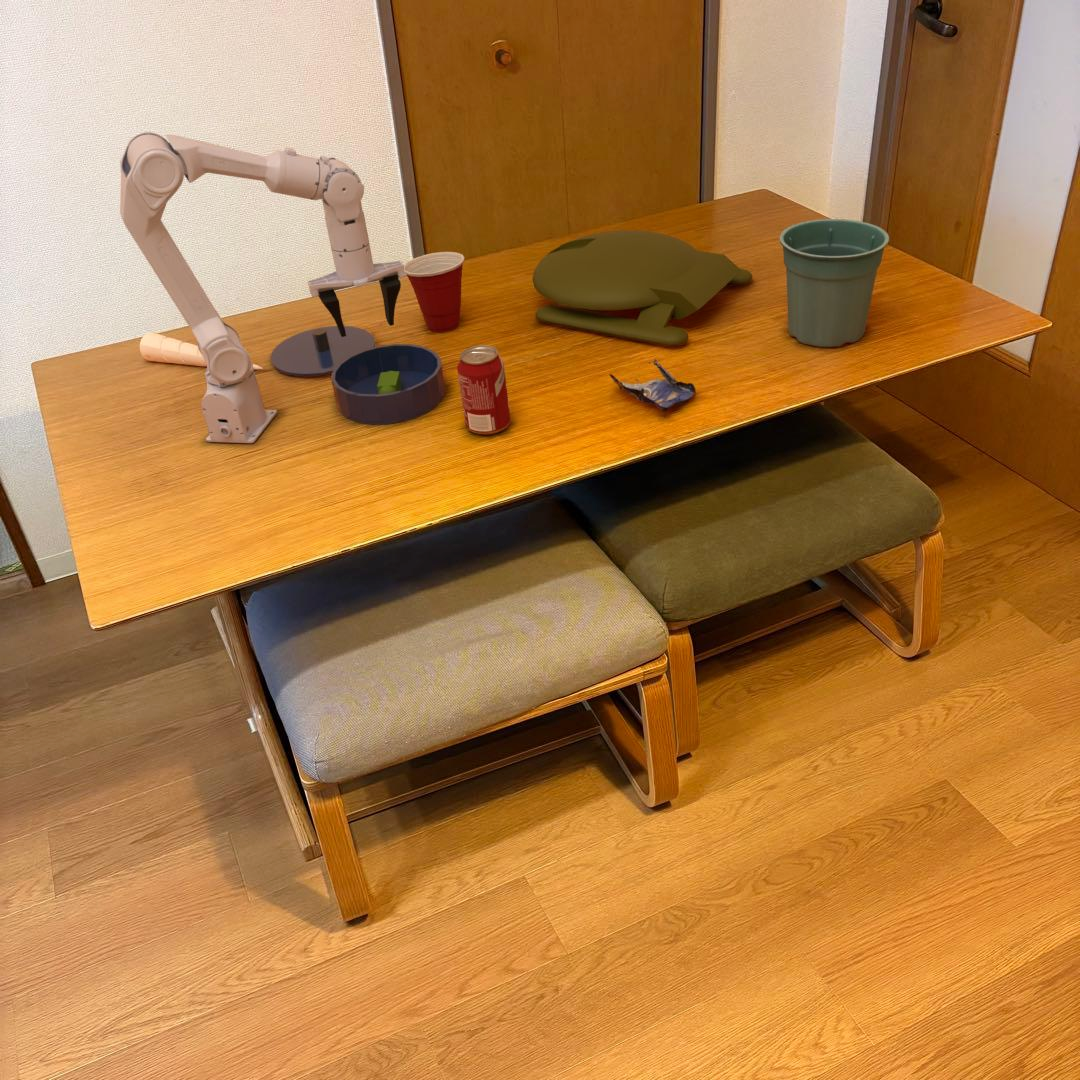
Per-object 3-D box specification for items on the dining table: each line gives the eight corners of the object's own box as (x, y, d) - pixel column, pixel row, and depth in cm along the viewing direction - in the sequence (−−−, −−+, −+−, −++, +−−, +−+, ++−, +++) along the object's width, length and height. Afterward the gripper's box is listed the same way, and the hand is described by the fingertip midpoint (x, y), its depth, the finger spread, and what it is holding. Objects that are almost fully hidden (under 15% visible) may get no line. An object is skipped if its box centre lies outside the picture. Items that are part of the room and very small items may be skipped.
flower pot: (826, 301, 187) (833, 209, 178) (901, 332, 175) (912, 235, 166) (754, 331, 180) (757, 237, 171) (826, 365, 169) (834, 266, 159)
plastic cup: (446, 306, 199) (436, 243, 192) (485, 321, 193) (477, 256, 186) (400, 328, 194) (388, 264, 186) (439, 344, 187) (428, 278, 180)
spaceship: (756, 280, 196) (758, 227, 191) (680, 353, 176) (679, 296, 171) (589, 255, 213) (586, 205, 207) (502, 318, 193) (495, 266, 187)
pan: (427, 426, 165) (422, 397, 162) (321, 423, 168) (315, 394, 165) (457, 372, 178) (453, 344, 175) (359, 370, 182) (353, 343, 179)
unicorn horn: (250, 381, 182) (242, 355, 179) (141, 364, 191) (133, 339, 188) (267, 368, 185) (260, 343, 182) (159, 352, 194) (151, 327, 192)
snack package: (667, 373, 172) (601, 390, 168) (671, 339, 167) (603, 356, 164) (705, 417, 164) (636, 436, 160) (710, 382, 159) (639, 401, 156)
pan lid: (355, 380, 179) (350, 357, 176) (255, 378, 183) (248, 355, 180) (389, 331, 193) (385, 309, 190) (295, 330, 197) (290, 308, 194)
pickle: (397, 405, 170) (394, 389, 168) (378, 406, 170) (375, 390, 168) (403, 382, 176) (400, 366, 174) (384, 383, 176) (381, 368, 174)
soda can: (494, 441, 159) (485, 368, 152) (457, 432, 162) (446, 359, 155) (519, 420, 164) (511, 347, 157) (482, 411, 167) (473, 340, 160)
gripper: (307, 264, 157) (326, 349, 165) (403, 243, 161) (418, 327, 169) (298, 248, 163) (317, 331, 171) (392, 228, 166) (406, 310, 174)
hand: (366, 328), depth 170 cm, fingers open, 7 cm apart
